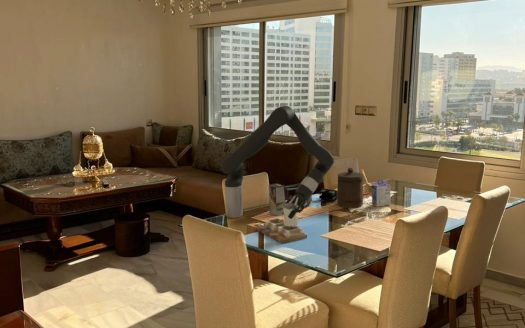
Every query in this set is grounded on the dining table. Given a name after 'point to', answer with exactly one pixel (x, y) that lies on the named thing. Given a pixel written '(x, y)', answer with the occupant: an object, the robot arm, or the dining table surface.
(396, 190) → the dining table surface
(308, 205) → the cup
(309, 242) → the dining table surface
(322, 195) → the end cap
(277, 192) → the coffee box
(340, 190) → the wooden container
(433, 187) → the dining table surface
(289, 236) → the socket board
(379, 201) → the ink cartridge box
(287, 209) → the plug
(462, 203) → the dining table surface
